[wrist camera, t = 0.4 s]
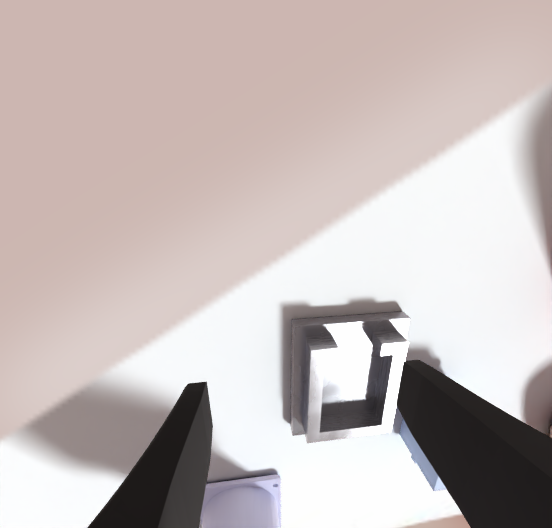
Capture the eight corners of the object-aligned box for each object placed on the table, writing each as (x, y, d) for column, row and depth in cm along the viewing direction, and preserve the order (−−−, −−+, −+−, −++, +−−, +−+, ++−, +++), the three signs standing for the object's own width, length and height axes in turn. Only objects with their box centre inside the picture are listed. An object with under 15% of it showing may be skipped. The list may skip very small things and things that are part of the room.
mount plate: (384, 414, 24) (399, 439, 22) (290, 425, 23) (295, 453, 21) (402, 311, 21) (423, 329, 18) (291, 319, 20) (298, 339, 17)
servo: (433, 436, 27) (482, 504, 21) (397, 441, 26) (437, 512, 21) (451, 371, 24) (513, 430, 18) (411, 375, 23) (462, 437, 18)
